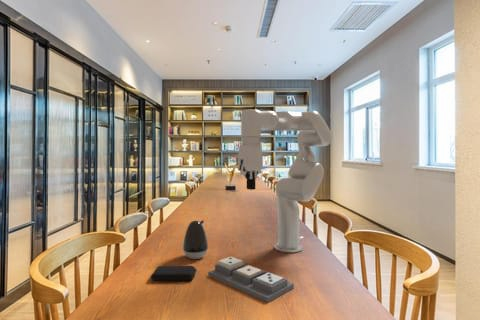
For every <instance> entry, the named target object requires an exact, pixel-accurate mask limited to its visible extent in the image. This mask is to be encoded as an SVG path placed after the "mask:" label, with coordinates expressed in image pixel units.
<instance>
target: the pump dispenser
mask: <svg viewBox="0 0 480 320" xmlns="http://www.w3.org/2000/svg"><path fill="white" fill-rule="evenodd" d="M204 223H205V221H204V220H201V221H199V220H192V221H191V222H189V224H188V226H187V227H186V230H185V234H184V237H183V242H182V243H183V244H182V250H183V252H184V255H185V256H186V258H189V259H191V260H199V259H200V260H201V259H202V258H204V257H205V255H206V254H207V252H208V249H209V242H208V238H207V234H206V231H205V228H204V225H203V224H204Z"/></svg>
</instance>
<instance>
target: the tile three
mask: <svg viewBox="0 0 480 320" xmlns="http://www.w3.org/2000/svg"><path fill="white" fill-rule="evenodd" d="M265 273H266V272H265ZM283 278H284V277H283V276H279V275H277V274H274V273H272V272H267V273H266V274H264V275H262V276H260V277H257V280H258V281H260V282H263V283H265V284H268V285H270V286H273V285H275V284H277V283H279V282H281V281H283Z"/></svg>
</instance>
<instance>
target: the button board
mask: <svg viewBox="0 0 480 320" xmlns="http://www.w3.org/2000/svg"><path fill="white" fill-rule="evenodd" d="M245 266H247V264H245V263H244V262H242V265H241V266H238V267H236V268H233V269H227V268H225V267H222V266H220V265H219V262H218V263H216V264H215V265H214V268H213V269H212V270H209V271H208V277H210V278H212V279H214V280H217V281H219V282H222V283H223V284H225V285H228V286H229V287H233V288H234V289H237V290H239V291H240V292H243V293H245V294H248V295H249V296H252V297H254V298H256V299H258V300H261V301H263V302H265V303H270V302H272V301H274V300H275V299H277V298H279V297H281V296H282V295H284V294H286V293H288V292H290V291H291V290H293V289H294V288H295V287H294V285H295V284H294V282H291V281H288V278H284V277H283V281H281V282H279V283H277V284H275V285H273V286H270V285H268V284H265V283H263V282H260V281H258V280H257V277H260V276H262V275H264V274H266V270H262V269H261V270H262V272H260V273H258V274H256V275H254V276H251V277H248V276H245V275H243V274H240V273H238V272H236V270H238V269H240V268H243V267H245Z"/></svg>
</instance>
